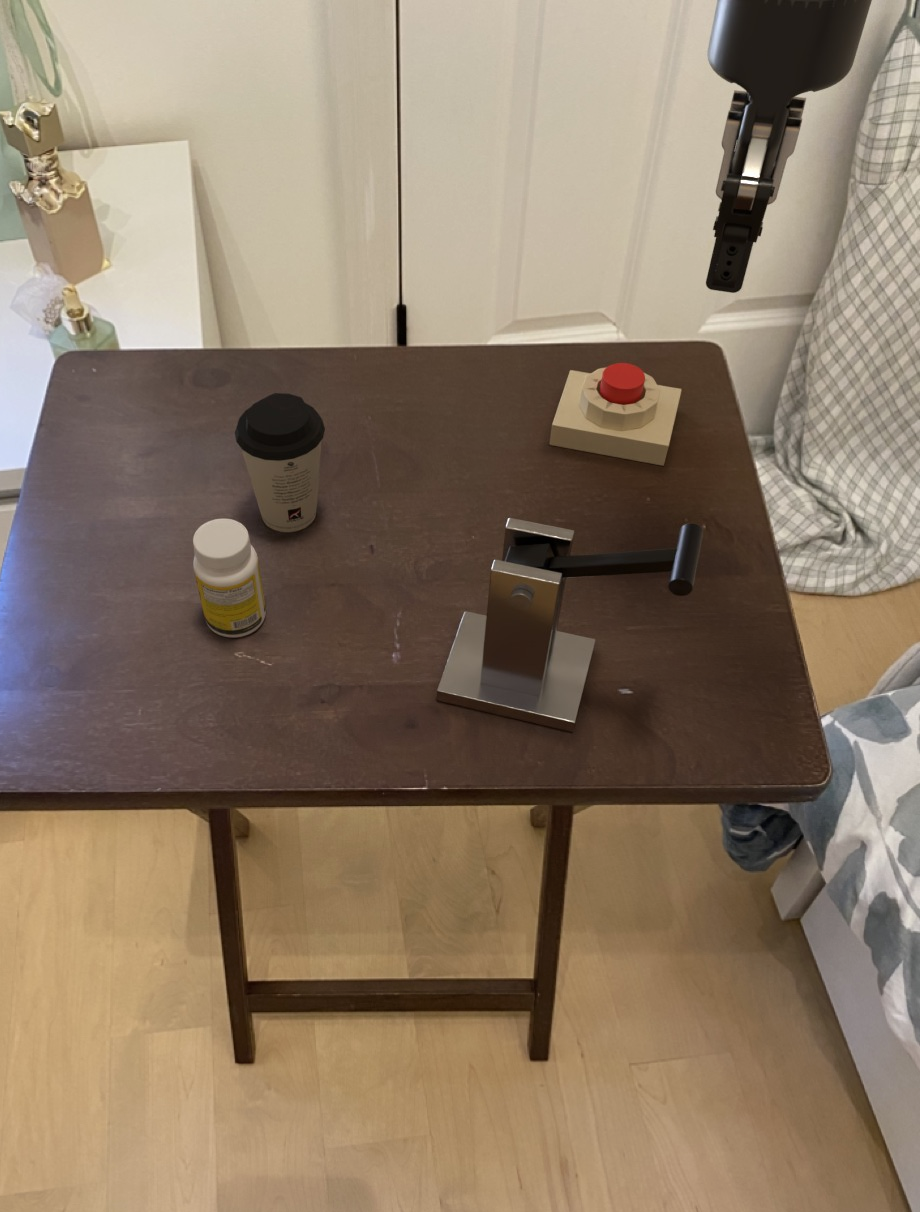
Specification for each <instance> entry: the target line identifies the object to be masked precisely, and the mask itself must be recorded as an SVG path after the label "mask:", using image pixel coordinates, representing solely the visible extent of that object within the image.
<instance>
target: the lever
mask: <svg viewBox="0 0 920 1212" xmlns="http://www.w3.org/2000/svg"><path fill="white" fill-rule="evenodd" d="M703 538H704V529H703V527H702V526H700V525H699V524H697V523H694V522H689V523H685V524H683V525H682V526H681V527H680V528H679V532H678V536H677V541H676V546H675V548H659V549H647V550H645V549H644V550H633V551H631V550H630V551H618V552H604V553H590V554H576V555H574V554H573V555H570V556H560V557H554V555H553V552H552V549H551V546H550V544H549V543H547V544H534V545H522V546H510V547H509V550H508V553H507V556H506V559H505V562H510V563H515V564H520V565H525V566H529V567H534V568H539V569H544V570H549V571H554V572H558V573H562V578H566V579H574V578H575V579H576V578H589V577H590V578H591V577H605V576H607V577H608V576H620V575H621V576H622V575H638V574H639V575H640V574H654V573H655V574H657V573H670V575H669V580H668V585H667V588H668V591H669V592H670V593H671V594H673V595H674V596H678V597H685V596H688V595H690V594H691V593H692V592H693V590H694V586H695V581H696V580H695V579H696V574H697V568H698V563H699V559H700V553H701V548H702V542H703Z"/></svg>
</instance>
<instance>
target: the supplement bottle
mask: <svg viewBox="0 0 920 1212" xmlns="http://www.w3.org/2000/svg"><path fill="white" fill-rule="evenodd" d="M192 544H193V552H194V557H193V562H192V563H193V564H192V568H193V574H194V577H195V582H196V585H197V590H198V594H199V598H200V603H201V607H202V612H203V615H204V620H205V622H206V625H207V626H208V628H209V629H210V630H211V631H212V632H213V633H215V634H217V635H219V636H220V637H221V636H222V637H226V638H243V637H245V636H249V635H250V634H252V633H254V632H256V631H257V630H258V629H259V628H260V627H261V626H262V624H263V623H264V621H265V619H266V614H267V607H266V601H265V594H264V589H263V582H262V577H261V570H260V564H259V557H258V554H257V552H256V549H255V548H254V546H253V545H252V544H251V539H250V533H249V531H248V529H247V528H246V526H245V525H244V524H243V523H241V522H239V521H238V520H235V519H231V518H215V519H212V520H209V521H206V522H205V523H203V524H201V525H200V526H199V527H198V528H197V529H196V531H195V533H194V534H193V537H192Z"/></svg>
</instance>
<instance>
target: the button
mask: <svg viewBox="0 0 920 1212" xmlns="http://www.w3.org/2000/svg"><path fill="white" fill-rule="evenodd" d="M606 367H607V368H606ZM606 367H604V368H605V370H604V371H603V374H602V380H601V385H600V395H601V396H602V398H603V399H605V400H606V401H608V402H610V403H615V404H620V405H628V404H634V403H636V402H637V401H639V400H640V398H641V396H642V392H643V387H644V382H645V374H644V373H645V372H644V371H643V370H642V369H641V368H640V367H639V366H636V365H634V364H631V363H628V362H627V363H625V362H618V363H613V364H612V363H611V364H610V365H608V366H606Z"/></svg>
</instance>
